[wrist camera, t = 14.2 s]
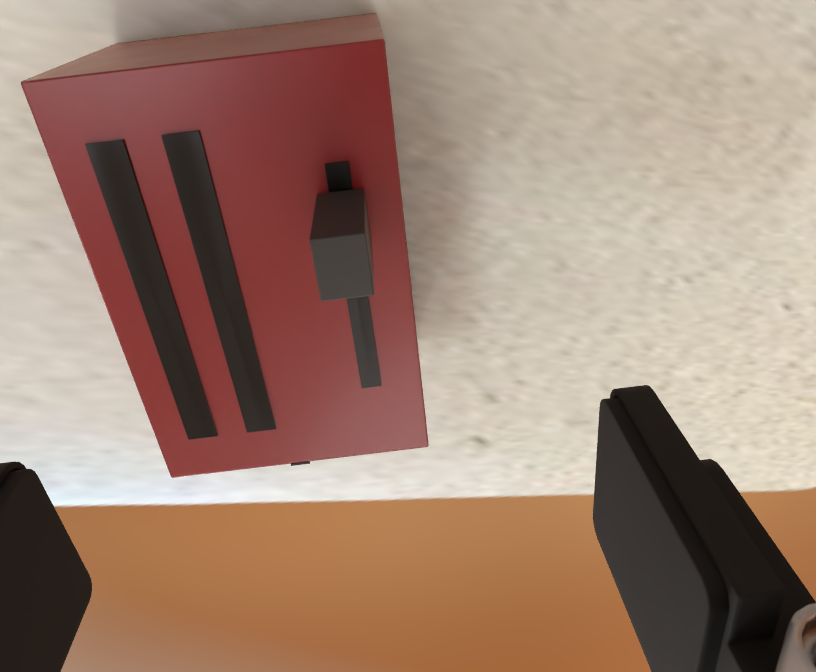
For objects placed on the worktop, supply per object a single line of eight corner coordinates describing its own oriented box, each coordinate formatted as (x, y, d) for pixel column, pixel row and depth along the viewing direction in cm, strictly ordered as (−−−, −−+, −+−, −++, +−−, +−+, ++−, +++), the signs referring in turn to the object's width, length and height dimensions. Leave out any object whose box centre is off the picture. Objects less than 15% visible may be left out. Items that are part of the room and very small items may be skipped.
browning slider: (316, 193, 22) (308, 239, 18) (364, 187, 22) (365, 232, 18) (326, 248, 23) (320, 302, 19) (372, 243, 23) (374, 296, 19)
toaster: (114, 43, 27) (17, 82, 20) (376, 12, 27) (384, 39, 20) (212, 364, 36) (171, 482, 28) (413, 340, 36) (429, 450, 28)
